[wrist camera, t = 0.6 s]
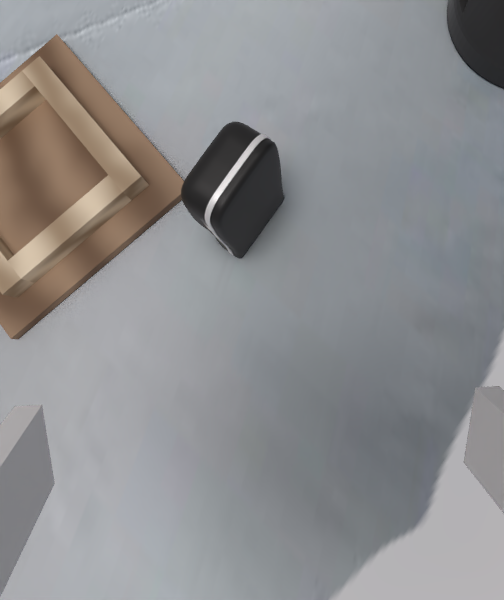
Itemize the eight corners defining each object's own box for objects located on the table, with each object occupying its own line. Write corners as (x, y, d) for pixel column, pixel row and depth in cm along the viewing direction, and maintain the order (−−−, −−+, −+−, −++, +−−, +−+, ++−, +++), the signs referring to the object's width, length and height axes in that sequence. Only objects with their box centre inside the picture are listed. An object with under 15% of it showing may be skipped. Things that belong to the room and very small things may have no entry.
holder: (62, 41, 45) (45, 19, 42) (191, 191, 41) (182, 177, 39) (-98, 178, 45) (-127, 165, 42) (17, 339, 42) (-5, 337, 39)
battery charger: (251, 173, 41) (229, 101, 30) (287, 196, 40) (278, 132, 29) (204, 238, 41) (164, 190, 30) (239, 263, 40) (212, 223, 29)
